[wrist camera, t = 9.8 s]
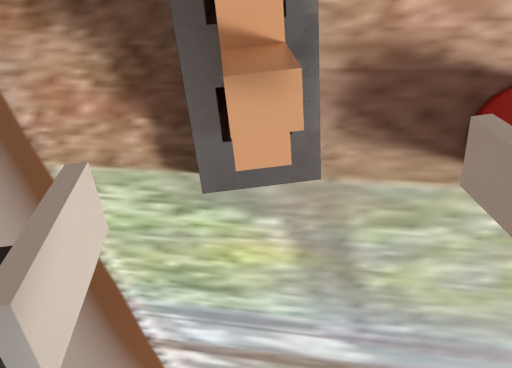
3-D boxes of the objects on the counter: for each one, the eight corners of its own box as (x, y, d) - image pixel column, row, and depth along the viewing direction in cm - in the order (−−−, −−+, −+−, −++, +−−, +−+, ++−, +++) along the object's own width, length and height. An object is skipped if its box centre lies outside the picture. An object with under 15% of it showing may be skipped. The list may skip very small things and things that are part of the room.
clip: (276, 119, 34) (306, 208, 24) (230, 124, 34) (240, 216, 23) (264, -57, 28) (297, -47, 17) (209, -52, 28) (208, -37, 17)
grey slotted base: (312, 161, 36) (320, 179, 34) (203, 174, 36) (202, 193, 33) (305, -139, 26) (316, -146, 24) (152, -124, 26) (146, -130, 23)
